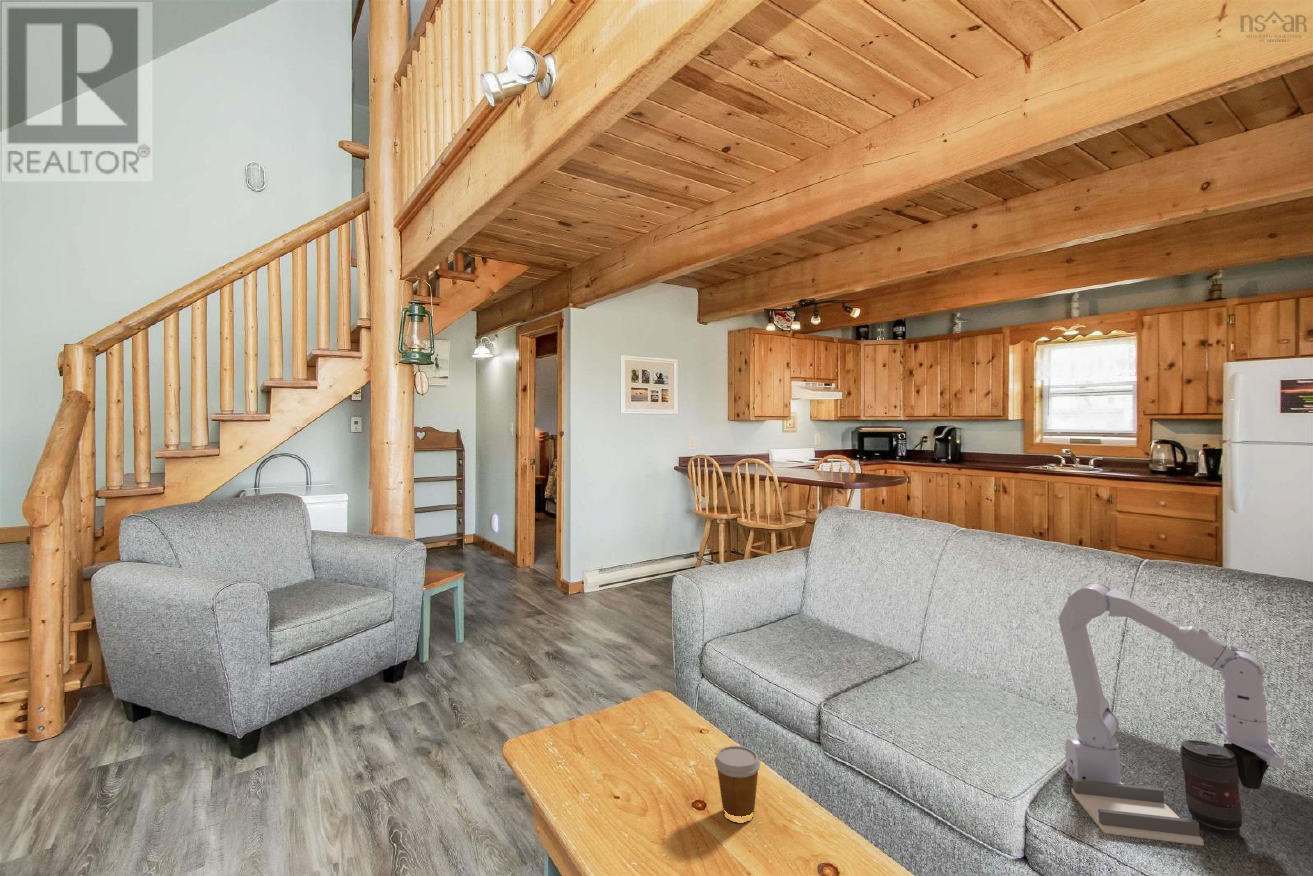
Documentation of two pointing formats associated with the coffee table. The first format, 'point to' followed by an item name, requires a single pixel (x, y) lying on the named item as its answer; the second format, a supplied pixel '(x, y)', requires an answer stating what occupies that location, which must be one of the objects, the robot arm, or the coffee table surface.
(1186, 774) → the dark patterned cylinder
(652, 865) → the coffee table surface
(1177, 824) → the lens cradle
